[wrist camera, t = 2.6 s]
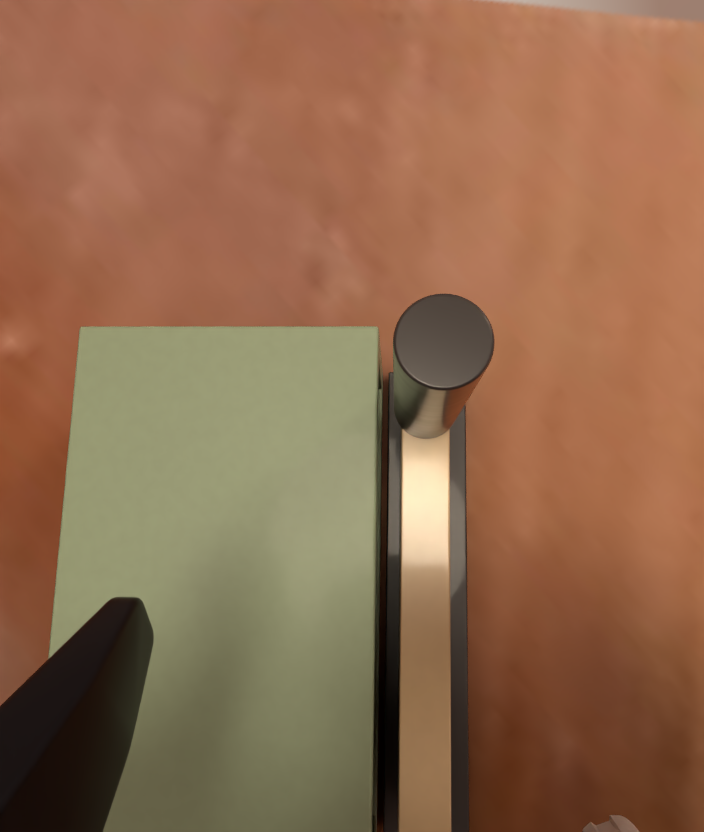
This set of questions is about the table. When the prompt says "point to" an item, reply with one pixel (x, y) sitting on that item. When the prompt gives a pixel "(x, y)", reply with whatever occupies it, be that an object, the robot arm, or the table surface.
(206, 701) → the cabinet
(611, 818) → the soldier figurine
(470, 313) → the door
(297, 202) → the table surface
